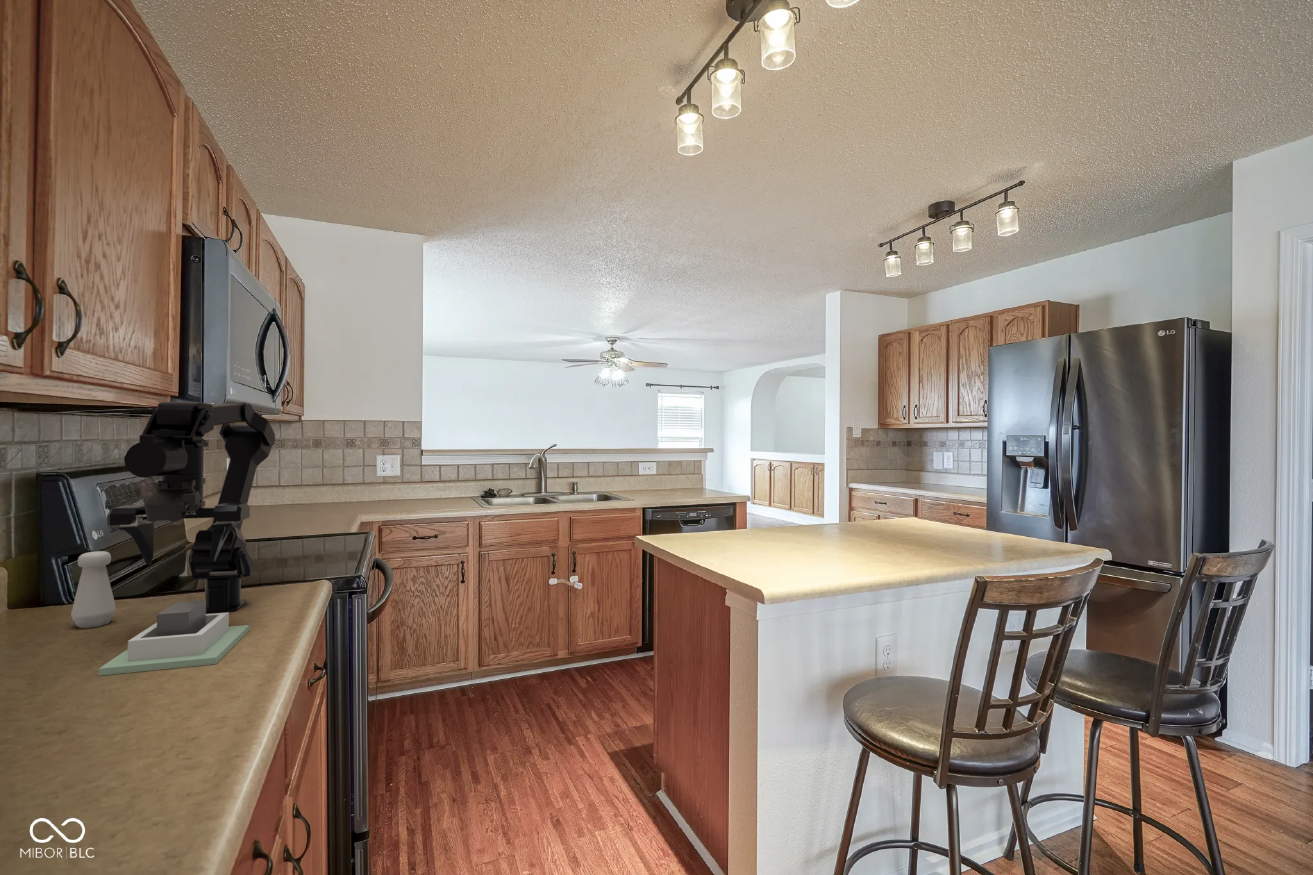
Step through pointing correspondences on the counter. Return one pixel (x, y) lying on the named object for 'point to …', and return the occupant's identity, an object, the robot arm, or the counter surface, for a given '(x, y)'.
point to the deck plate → (177, 647)
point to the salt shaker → (93, 592)
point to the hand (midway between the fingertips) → (181, 562)
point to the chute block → (182, 618)
